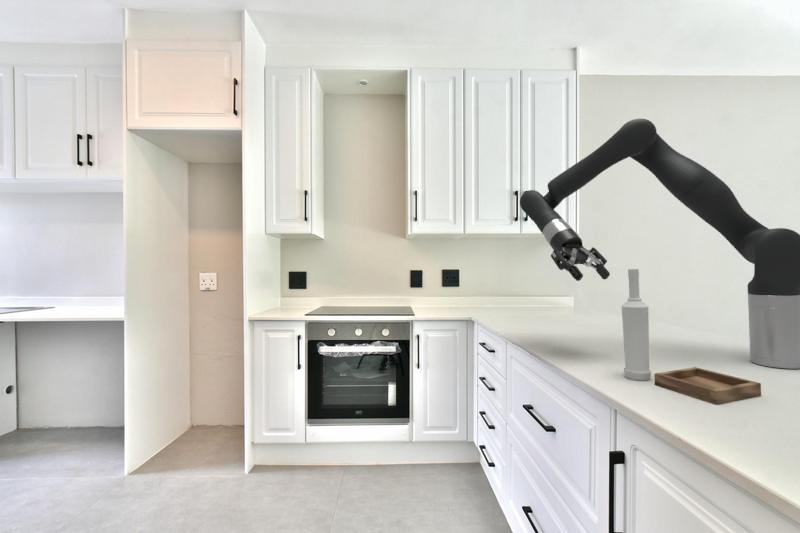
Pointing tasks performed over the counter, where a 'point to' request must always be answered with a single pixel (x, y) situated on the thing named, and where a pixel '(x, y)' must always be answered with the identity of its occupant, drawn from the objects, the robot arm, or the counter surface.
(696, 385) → the walnut tray
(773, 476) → the counter surface
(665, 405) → the counter surface
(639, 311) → the bottle
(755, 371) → the counter surface
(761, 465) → the counter surface
